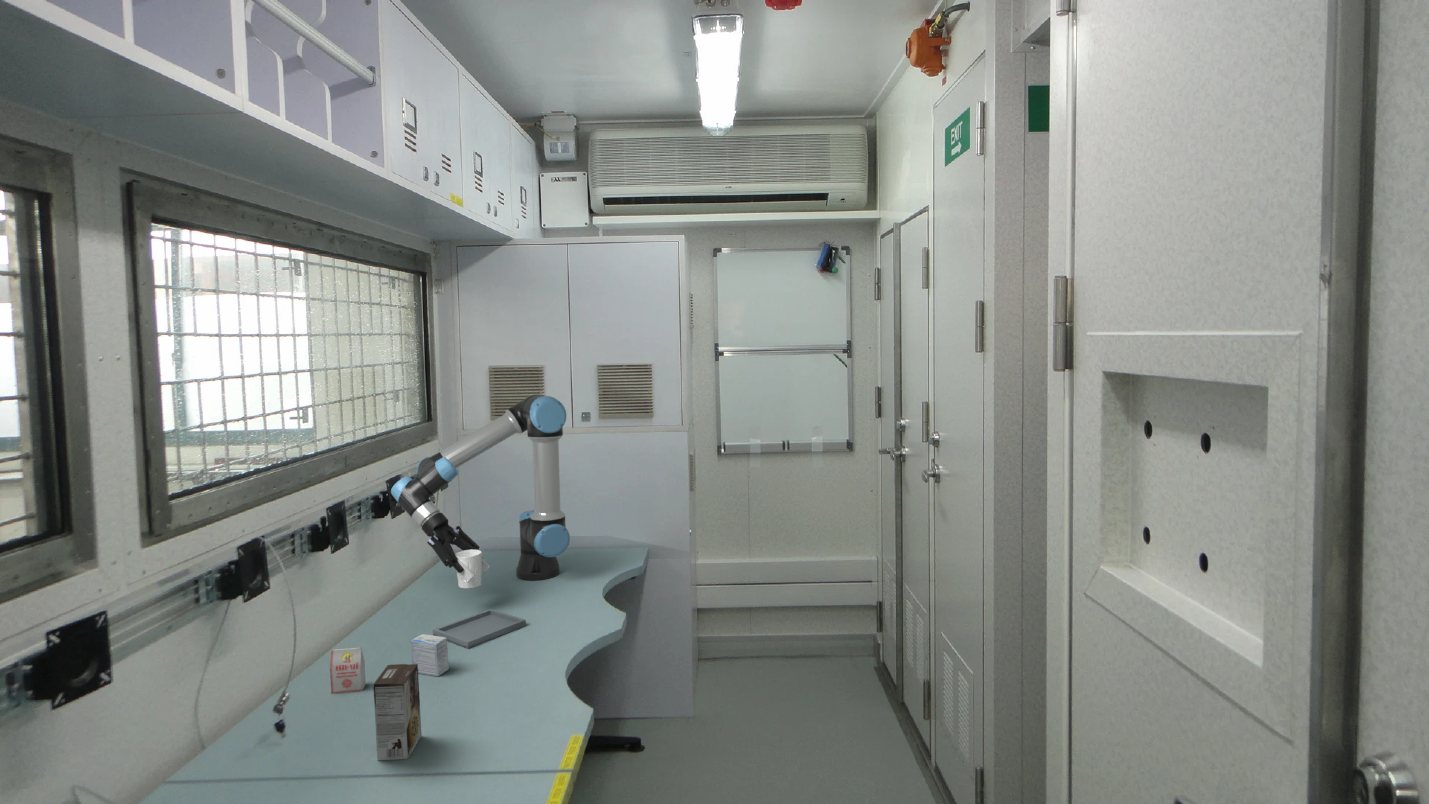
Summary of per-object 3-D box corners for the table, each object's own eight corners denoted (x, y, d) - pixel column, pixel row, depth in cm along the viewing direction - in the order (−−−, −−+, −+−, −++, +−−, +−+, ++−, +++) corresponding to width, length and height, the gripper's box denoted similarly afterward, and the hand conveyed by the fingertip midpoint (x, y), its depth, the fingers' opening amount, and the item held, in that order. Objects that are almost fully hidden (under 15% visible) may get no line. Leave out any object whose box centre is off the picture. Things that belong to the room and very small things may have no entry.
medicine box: (449, 670, 193) (448, 637, 192) (437, 677, 188) (436, 643, 188) (424, 665, 195) (422, 633, 194) (411, 673, 191) (410, 640, 190)
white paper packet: (336, 686, 184) (333, 647, 183) (365, 684, 185) (363, 644, 184) (331, 693, 180) (329, 653, 180) (361, 691, 182) (359, 650, 181)
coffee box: (391, 737, 160) (387, 664, 159) (422, 735, 161) (419, 662, 159) (375, 761, 151) (371, 683, 150) (408, 759, 152) (405, 682, 150)
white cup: (487, 580, 235) (485, 549, 234) (477, 589, 227) (475, 557, 226) (463, 580, 236) (461, 549, 235) (452, 589, 228) (450, 557, 227)
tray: (491, 614, 231) (490, 608, 231) (525, 625, 222) (525, 619, 221) (433, 635, 215) (432, 629, 215) (467, 648, 205) (467, 642, 205)
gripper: (445, 519, 244) (491, 571, 241) (401, 536, 224) (451, 593, 221) (458, 504, 242) (504, 556, 239) (415, 520, 222) (465, 577, 219)
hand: (479, 574), depth 230 cm, fingers closed on white cup, 8 cm apart
